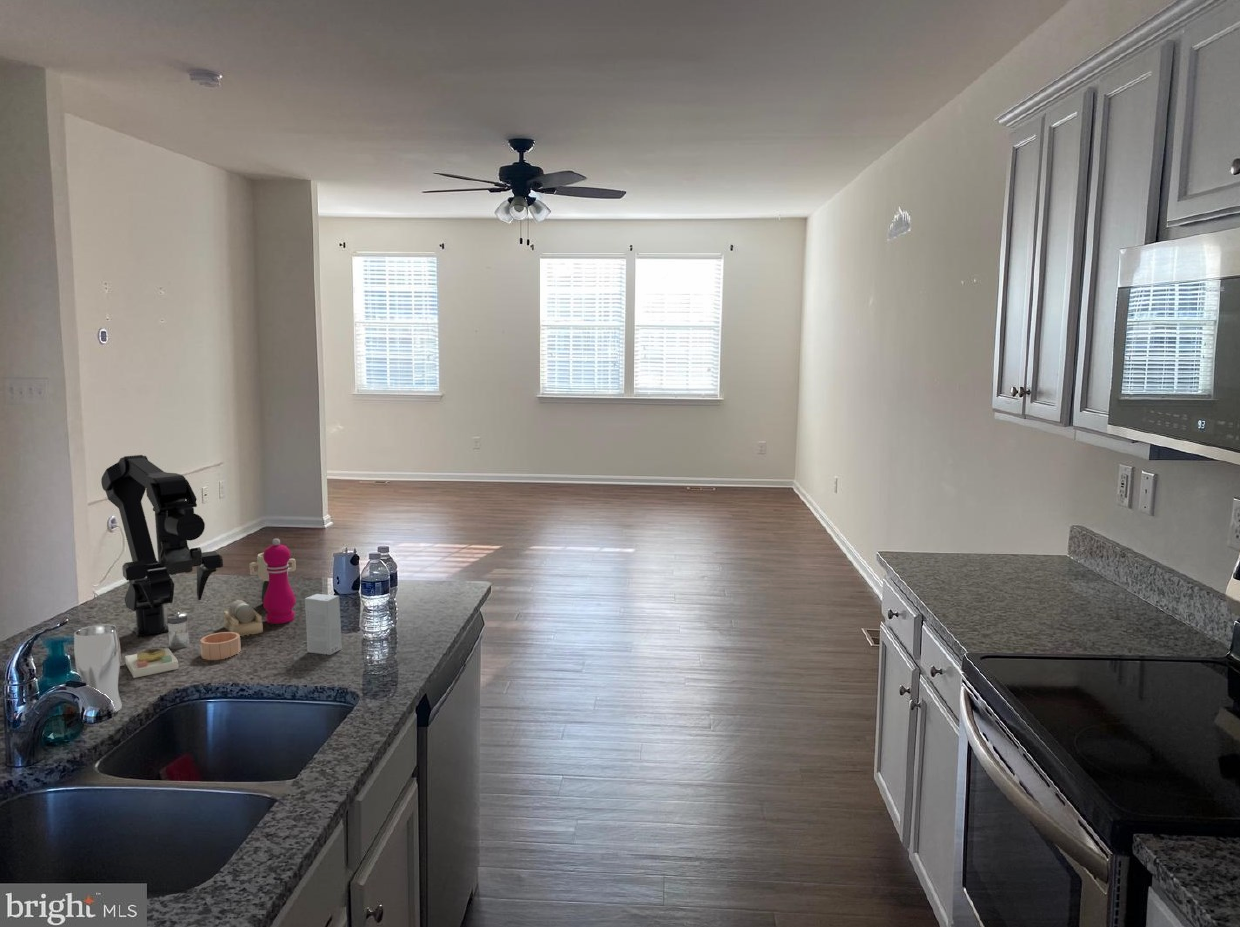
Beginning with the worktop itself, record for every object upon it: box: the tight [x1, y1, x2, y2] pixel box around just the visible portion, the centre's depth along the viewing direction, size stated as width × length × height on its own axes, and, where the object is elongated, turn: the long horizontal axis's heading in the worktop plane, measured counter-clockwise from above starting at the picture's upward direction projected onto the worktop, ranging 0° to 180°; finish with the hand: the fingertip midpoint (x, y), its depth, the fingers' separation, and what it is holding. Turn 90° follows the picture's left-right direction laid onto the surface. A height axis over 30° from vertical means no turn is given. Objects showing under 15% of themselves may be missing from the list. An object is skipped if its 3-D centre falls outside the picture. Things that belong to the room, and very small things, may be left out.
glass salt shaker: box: [166, 611, 190, 650], centre depth 185 cm, size 4×4×8 cm
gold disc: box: [136, 648, 165, 661], centre depth 173 cm, size 5×5×1 cm
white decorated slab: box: [124, 647, 180, 679], centre depth 174 cm, size 10×8×2 cm
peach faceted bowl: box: [199, 631, 242, 661], centre depth 181 cm, size 8×8×4 cm
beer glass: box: [73, 623, 123, 713], centre depth 151 cm, size 7×7×15 cm
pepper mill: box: [262, 538, 296, 625], centre depth 202 cm, size 7×7×20 cm
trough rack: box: [223, 599, 264, 637], centre depth 196 cm, size 10×6×6 cm, turn 38°
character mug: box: [249, 552, 297, 603], centre depth 216 cm, size 11×7×13 cm, turn 116°
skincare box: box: [304, 593, 343, 656], centre depth 182 cm, size 6×4×12 cm
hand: (176, 603), depth 185 cm, fingers open, 9 cm apart
